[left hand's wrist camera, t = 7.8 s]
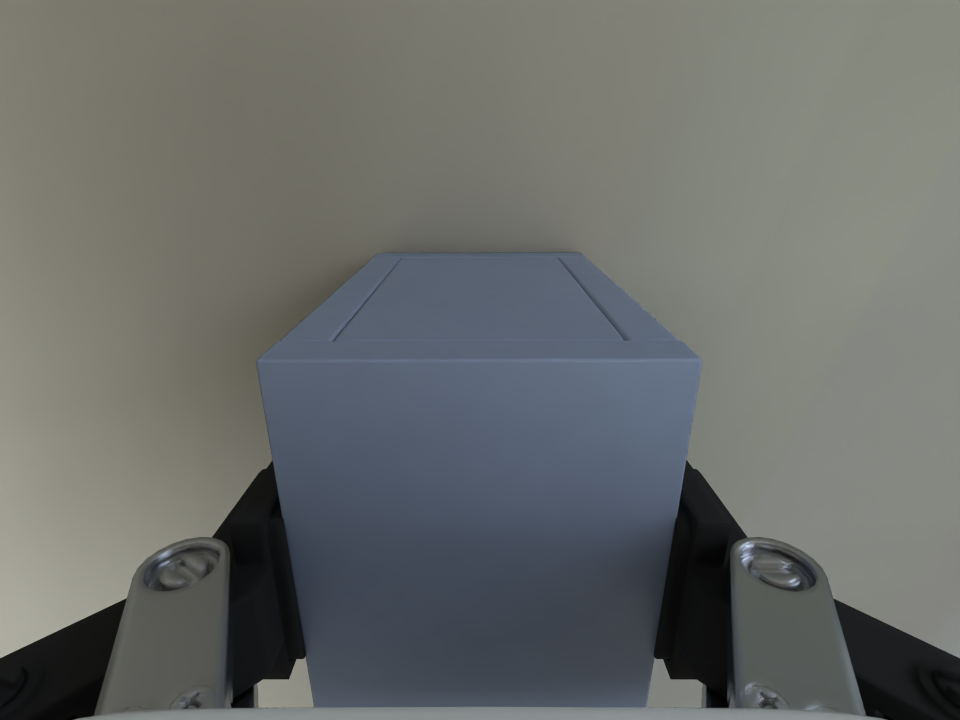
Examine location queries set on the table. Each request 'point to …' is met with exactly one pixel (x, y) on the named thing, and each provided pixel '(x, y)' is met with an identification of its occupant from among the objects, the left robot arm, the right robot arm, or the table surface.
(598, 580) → the blue-grey rectangular block
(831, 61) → the table surface
